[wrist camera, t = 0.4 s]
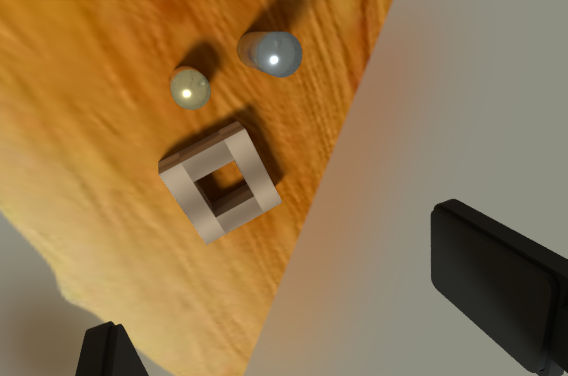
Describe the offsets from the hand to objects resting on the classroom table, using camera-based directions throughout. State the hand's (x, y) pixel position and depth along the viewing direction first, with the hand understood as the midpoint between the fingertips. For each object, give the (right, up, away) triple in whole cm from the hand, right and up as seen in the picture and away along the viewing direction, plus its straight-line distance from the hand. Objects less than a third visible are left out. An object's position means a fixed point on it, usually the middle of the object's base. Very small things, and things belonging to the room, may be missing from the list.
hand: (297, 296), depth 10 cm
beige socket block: (-8, +4, +33) cm, 34 cm away
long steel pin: (-4, +18, +29) cm, 34 cm away
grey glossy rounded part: (-11, +14, +28) cm, 33 cm away
